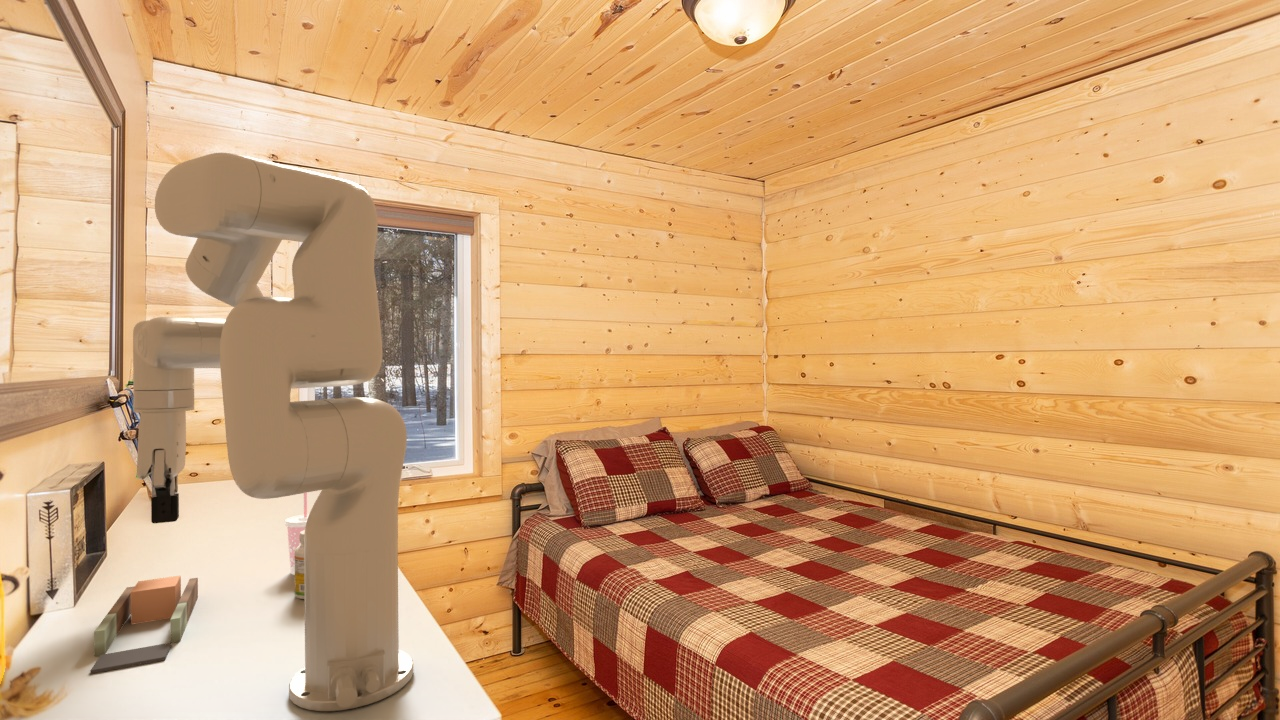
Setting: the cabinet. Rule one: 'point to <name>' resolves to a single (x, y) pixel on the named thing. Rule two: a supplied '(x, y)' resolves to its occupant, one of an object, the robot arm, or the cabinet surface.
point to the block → (155, 599)
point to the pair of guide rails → (123, 610)
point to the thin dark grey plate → (131, 658)
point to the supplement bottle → (299, 568)
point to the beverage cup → (295, 533)
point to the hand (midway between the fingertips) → (165, 521)
